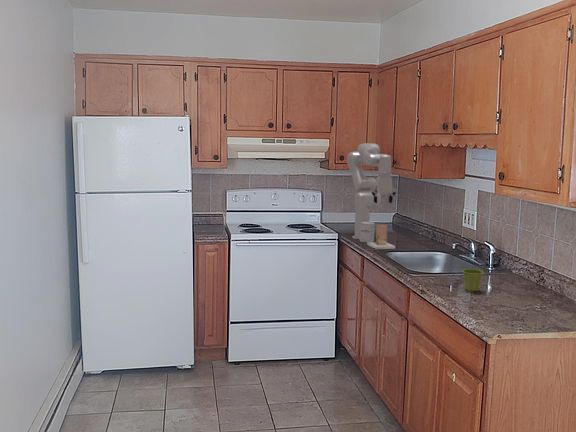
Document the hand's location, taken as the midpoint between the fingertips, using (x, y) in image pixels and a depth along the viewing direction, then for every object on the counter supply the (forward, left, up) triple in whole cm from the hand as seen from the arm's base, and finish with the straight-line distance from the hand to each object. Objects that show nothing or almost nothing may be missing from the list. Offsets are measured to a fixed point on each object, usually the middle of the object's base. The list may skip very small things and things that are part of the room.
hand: (382, 202), depth 379 cm
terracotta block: (0, 0, -20) cm, 20 cm away
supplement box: (-18, -2, -28) cm, 33 cm away
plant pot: (+108, +1, -28) cm, 112 cm away
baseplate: (0, 0, -28) cm, 28 cm away
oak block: (0, 0, -26) cm, 26 cm away
